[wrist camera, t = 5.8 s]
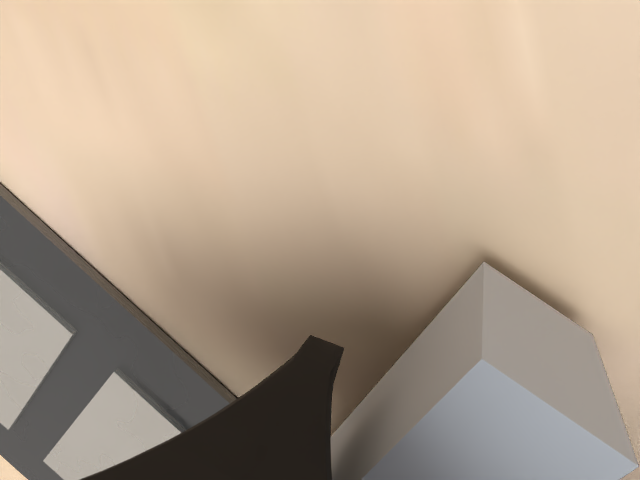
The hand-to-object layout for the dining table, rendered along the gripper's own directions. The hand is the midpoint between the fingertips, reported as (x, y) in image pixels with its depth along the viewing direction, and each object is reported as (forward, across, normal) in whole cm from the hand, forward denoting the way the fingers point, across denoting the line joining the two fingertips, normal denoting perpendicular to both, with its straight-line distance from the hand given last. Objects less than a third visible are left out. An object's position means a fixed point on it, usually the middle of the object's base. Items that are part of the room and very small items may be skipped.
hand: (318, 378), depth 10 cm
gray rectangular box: (+1, -2, +3) cm, 3 cm away
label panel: (+2, +8, +6) cm, 10 cm away
